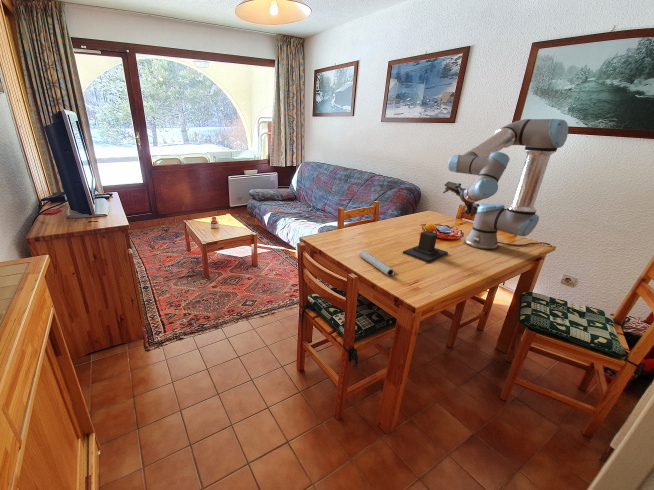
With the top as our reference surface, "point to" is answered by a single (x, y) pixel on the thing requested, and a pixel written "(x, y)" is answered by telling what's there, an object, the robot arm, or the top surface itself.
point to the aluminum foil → (377, 263)
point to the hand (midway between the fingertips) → (454, 201)
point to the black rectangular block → (427, 241)
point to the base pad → (425, 254)
